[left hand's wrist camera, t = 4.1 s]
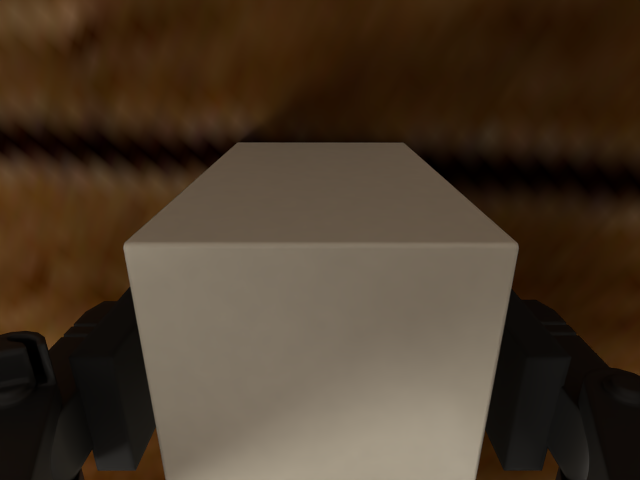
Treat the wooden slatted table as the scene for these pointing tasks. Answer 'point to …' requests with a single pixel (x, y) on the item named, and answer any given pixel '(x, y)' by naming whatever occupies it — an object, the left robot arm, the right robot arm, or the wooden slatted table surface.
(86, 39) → the wooden slatted table surface
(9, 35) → the wooden slatted table surface
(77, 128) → the wooden slatted table surface
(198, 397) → the plank
